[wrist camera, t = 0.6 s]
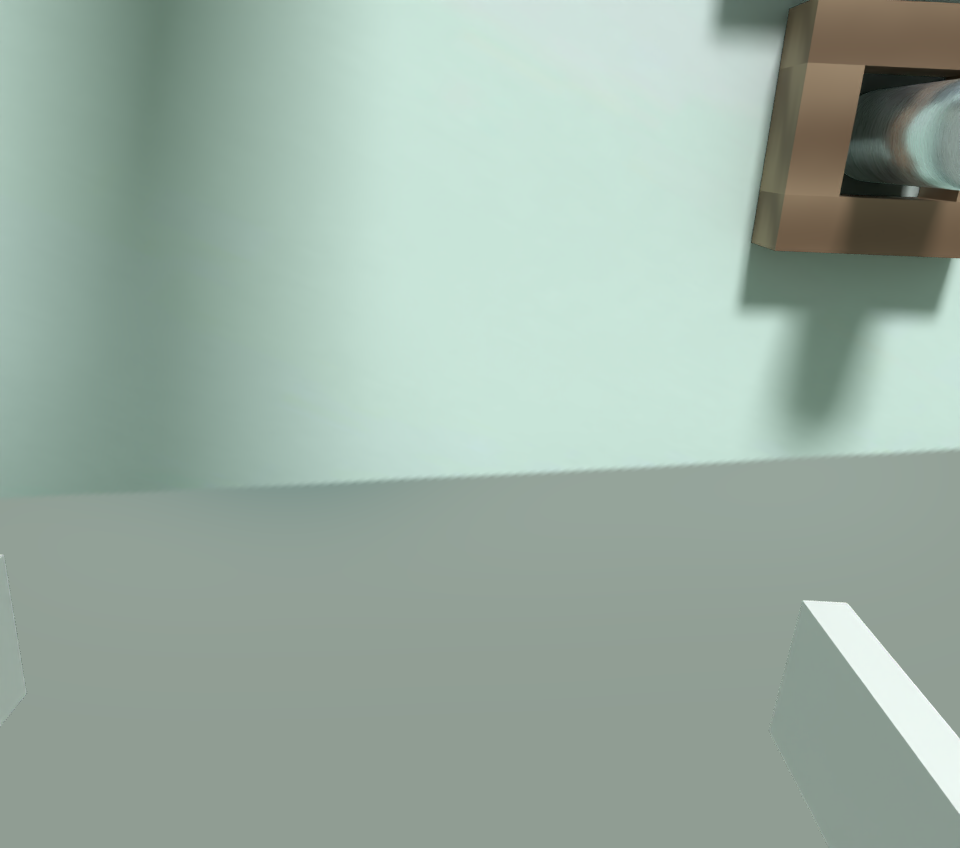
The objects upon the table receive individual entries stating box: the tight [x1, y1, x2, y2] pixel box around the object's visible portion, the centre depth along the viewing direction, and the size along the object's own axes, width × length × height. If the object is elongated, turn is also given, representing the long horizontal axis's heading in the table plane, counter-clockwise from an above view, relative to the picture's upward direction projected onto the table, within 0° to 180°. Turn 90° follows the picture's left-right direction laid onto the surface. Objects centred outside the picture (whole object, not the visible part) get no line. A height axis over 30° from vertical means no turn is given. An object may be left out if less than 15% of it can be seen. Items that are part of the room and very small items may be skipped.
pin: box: [844, 79, 960, 190], centre depth 29 cm, size 4×4×12 cm
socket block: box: [751, 0, 960, 258], centre depth 33 cm, size 10×10×3 cm
